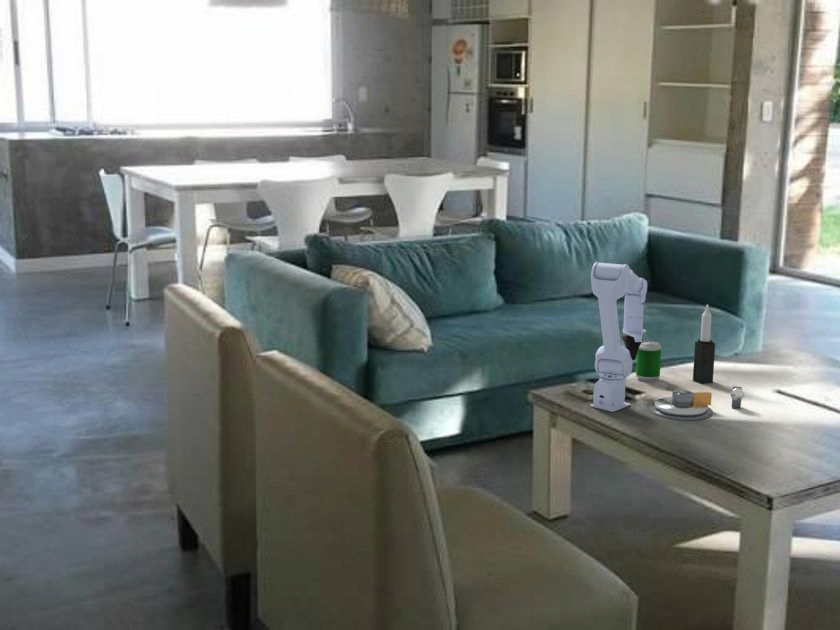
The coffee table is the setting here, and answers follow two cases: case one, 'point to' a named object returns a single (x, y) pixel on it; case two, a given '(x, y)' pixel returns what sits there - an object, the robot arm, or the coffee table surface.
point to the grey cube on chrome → (737, 397)
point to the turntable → (698, 408)
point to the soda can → (648, 361)
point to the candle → (704, 352)
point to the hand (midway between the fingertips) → (631, 359)
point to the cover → (682, 399)
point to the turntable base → (654, 411)
